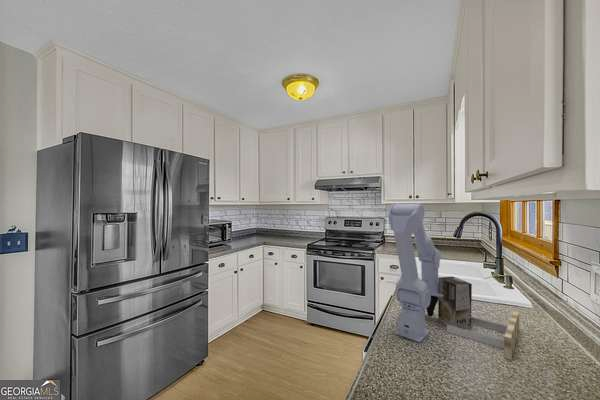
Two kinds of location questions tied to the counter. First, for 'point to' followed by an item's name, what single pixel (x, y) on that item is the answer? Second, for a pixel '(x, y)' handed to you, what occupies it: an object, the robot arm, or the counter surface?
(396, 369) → the counter surface
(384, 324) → the counter surface
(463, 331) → the rails
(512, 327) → the back plate
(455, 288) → the coffee box
